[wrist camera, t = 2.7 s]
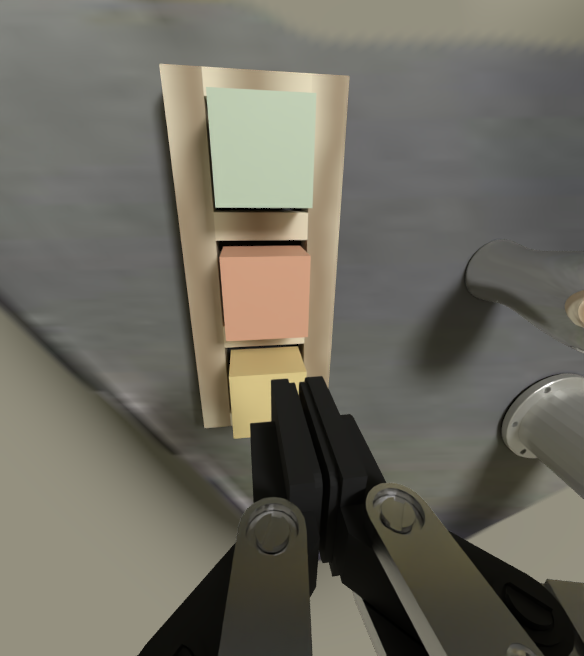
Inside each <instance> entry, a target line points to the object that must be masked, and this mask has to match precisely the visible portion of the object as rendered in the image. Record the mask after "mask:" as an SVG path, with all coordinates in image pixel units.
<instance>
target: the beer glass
mask: <svg viewBox="0 0 584 656" xmlns="http://www.w3.org/2000/svg"><path fill="white" fill-rule="evenodd" d="M465 281H466V286H467V289H468V290H469V292H470V293H471V294H472V295H473V296H474V297H476V298H478V299H481V300H485V301H490V302H496V303H499V304H502V305H505V306H506V307H508V308H510V309H512V310H513V311H515V312H516V313H518V314H519V315H520V316H522V317H523V318H524V319H526V320H527V321H528V322H530V323H531V324H532V325H534V326H535V327H537V328H538V329H539V330H541V331H542V332H544V333H545V334H547V335H549V336H550V337H552V338H553V339H555V340H557V341H559V342H560V343H562V344H564V345H566V346H568V347H570V348H572V349H574V350H576V351H579V352H581V353H583V354H584V251H540V250H533V249H529V248H527V247H524V246H522V245H520V244H518V243H516V242H514V241H511V240H507V239H500V240H495V241H492V242H489V243H488V244H486V245H484V246H483V247H482V248H480V249H479V250H478V251H477V252H476V253H475V255H474V256H473V257H472V259H471V260H470V262H469V264H468V267H467V270H466V276H465Z"/></svg>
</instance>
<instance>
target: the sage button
mask: <svg viewBox="0 0 584 656" xmlns="http://www.w3.org/2000/svg"><path fill="white" fill-rule="evenodd" d="M206 94H207V107H208V120H209V132H210V145H211V157H212V170H213V183H214V195H215V208H312V207H313V178H314V149H315V120H316V93H307V92H289V91H271V90H253V89H234V88H216V87H206Z"/></svg>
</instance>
